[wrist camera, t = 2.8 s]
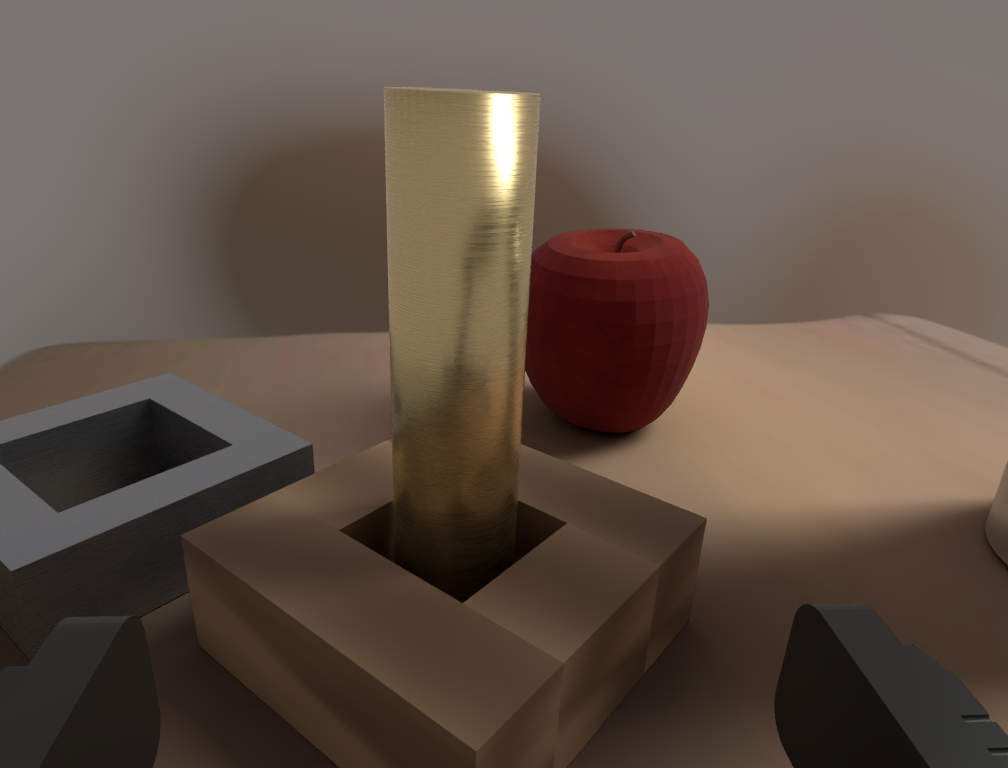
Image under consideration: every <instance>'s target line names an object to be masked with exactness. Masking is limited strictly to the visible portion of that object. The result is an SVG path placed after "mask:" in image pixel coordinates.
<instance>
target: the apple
mask: <svg viewBox="0 0 1008 768" xmlns="http://www.w3.org/2000/svg"><path fill="white" fill-rule="evenodd" d="M708 308H709V300H708V290H707V282H706V278H705V275H704V272H703V270H702V268H701V265H700V263H699V260H698V259H697V258H696V256H695V255H694V254H693V253H692V252H691V251H690V250H689V249H688V248H687V246H686V245H685V244H684V243H683V242H682V241H680V240H679V239H677V238H675V237H672V236H670V235H666V234H662V233H657V232H652V231H645V230H634V229H589V230H579V231H573V232H567V233H563V234H559V235H557V236H554V237H552V238H551V239H549V240H548V241H547V242H545V243H544V244H543V245H541V246H540V247H539V248H537V249H536V250H535V251H534V252H533V253H532V255H531V271H530V288H529V306H528V324H527V342H526V360H525V371H526V373H527V375H528V377H529V380H530V382H531V384H532V386H533V387H534V389H535V390H536V392H537V393H538V395H539V396H540V398H541V399H542V400H543V402H544V403H545V404H546V405H547V406H548V407H549V408H550V409H551V410H552V411H553V412H554V413H555V414H557V415H558V416H559V417H561V418H562V419H564V420H566V421H568V422H570V423H572V424H575V425H577V426H580V427H583V428H587V429H591V430H596V431H602V432H613V433H618V432H631V431H635V430H638V429H641V428H643V427H644V426H646V425H648V424H649V423H651V422H653V421H654V420H656V419H657V418H658V417H659V416H660V415H661V414H662V413H663V412H664V411H665V410H666V409H667V408H668V407H669V406H670V405H671V404H672V402H673V401H674V399H675V398H676V396H677V394H678V393H679V391H680V390H681V388H682V387H683V385H684V383H685V381H686V379H687V377H688V375H689V373H690V371H691V369H692V367H693V365H694V362H695V360H696V357H697V355H698V352H699V350H700V347H701V344H702V340H703V337H704V333H705V330H706V325H707V317H708Z"/></svg>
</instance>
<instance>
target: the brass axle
mask: <svg viewBox="0 0 1008 768" xmlns="http://www.w3.org/2000/svg"><path fill="white" fill-rule="evenodd" d="M384 109H385V110H384V112H385V155H386V156H385V157H386V201H387V242H388V243H387V245H388V289H389V329H390V330H389V334H390V378H391V422H392V467H393V511H394V555H395V564H397V565H398V566H400V567H402V568H403V569H405V570H407V571H408V572H410V573H412V574H413V575H415V576H417V577H419V578H420V579H422V580H424V581H425V582H427V583H429V584H430V585H432V586H434V587H436V588H437V589H439V590H441V591H442V592H444V593H446V594H447V595H449V596H451V597H452V598H454V599H456V600H458V601H459V602H461V603H464V602H465V601H466V600H468V599H469V598H470V597H472V596H473V595H474V594H476V593H477V592H478V591H479V590H481V589H482V588H483V587H485V586H486V585H487V584H489V583H490V582H491V581H493V580H494V579H495V578H496V577H498V576H499V575H500V574H502V573H503V572H504V571H506V570H507V569H508V568H510V567H511V566H512V565H513V564H514V555H515V537H516V519H517V502H518V484H519V466H520V448H521V431H522V413H523V395H524V377H525V360H526V342H527V324H528V306H529V288H530V271H531V253H532V235H533V217H534V199H535V182H536V164H537V145H538V128H539V110H540V94H536V93H523V92H509V91H490V90H469V89H446V88H414V87H413V88H412V87H385V88H384Z"/></svg>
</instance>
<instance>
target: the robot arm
mask: <svg viewBox="0 0 1008 768" xmlns="http://www.w3.org/2000/svg"><path fill="white" fill-rule="evenodd" d="M985 531H986V536H987V540H988V541H989V543H990V545H991V546H992V548H993V550H994V551H995V553H996V554H997V555H998V556H999V557H1000V558H1001V559H1002V560H1003V561H1004V562H1005V563H1006V564H1007V565H1008V461H1007V464H1006V467H1005V470H1004V473H1003V475H1002V478H1001V481H1000V484H999V487H998V490H997V493H996V495H995V498H994V501H993V504H992V507H991V510H990V513H989V516H988V518H987V521H986V524H985ZM774 709H775V719H776V725H777V730H778V733H779V737H780V740H781V743H782V745H783V747H784V750H785V752H786V754H787V756H788V758H789V760H790V761H791V763H792V765H793V767H794V768H1008V736H1007V734H1006V733H1005V732H1004V731H1003V730H1002V729H1001V727H1000V726H999V725H998V724H997V723H996V722H991V721H990V719H989V713H988V712H987V711H986V710H985V709H984V708H983V706H982V705H981V704H980V703H979V702H978V701H977V699H976V698H975V697H974V696H973V695H972V694H971V692H970V691H969V690H968V689H967V688H966V687H965V686H964V684H963V683H962V682H961V681H960V680H959V679H958V677H957V676H955V675H954V674H953V673H951V672H950V671H949V670H947V669H946V668H944V667H943V666H942V665H940V664H939V663H938V662H936V661H935V660H933V659H932V658H931V657H929V656H928V655H927V654H925V653H924V652H922V651H921V650H920V649H918V648H917V647H916V646H914V645H902V643H901V642H900V641H899V640H898V638H897V637H896V636H895V635H894V634H893V632H892V631H891V630H890V629H889V627H888V626H887V625H886V624H885V622H884V621H883V620H882V619H881V618H880V616H879V615H878V614H877V613H876V612H875V611H874V610H873V609H872V608H871V607H870V606H868V605H866V604H864V603H832V604H804V605H802V606H801V607H800V608H799V609H798V610H797V612H796V614H795V617H794V621H793V625H792V629H791V633H790V637H789V641H788V645H787V649H786V653H785V657H784V661H783V665H782V669H781V673H780V677H779V681H778V685H777V689H776V693H775V702H774ZM159 737H160V710H159V704H158V699H157V694H156V689H155V683H154V678H153V673H152V668H151V662H150V657H149V652H148V647H147V641H146V636H145V631H144V627H143V624H142V622H141V620H140V619H139V618H138V617H137V616H98V617H68V618H65V619H63V620H61V621H60V622H59V623H58V624H57V625H56V626H55V628H54V629H53V630H52V632H51V633H50V635H49V636H48V637H47V639H46V640H45V642H44V643H43V645H42V646H41V647H40V649H39V650H38V652H37V653H36V655H35V656H34V657H33V659H32V660H31V662H30V663H29V665H28V666H7V667H5V668H4V669H3V670H2V671H0V768H153V765H154V761H155V758H156V754H157V749H158V744H159Z"/></svg>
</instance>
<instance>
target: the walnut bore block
mask: <svg viewBox="0 0 1008 768" xmlns="http://www.w3.org/2000/svg"><path fill="white" fill-rule="evenodd" d="M706 520H707V518H704V517H702V516H699V515H697V514H694V513H692V512H689V511H687V510H684V509H682V508H679V507H677V506H674V505H672V504H669V503H667V502H664V501H662V500H659V499H657V498H654V497H652V496H649V495H647V494H644V493H642V492H639V491H637V490H634V489H632V488H629V487H627V486H624V485H622V484H619V483H617V482H614V481H612V480H609V479H607V478H604V477H602V476H600V475H597V474H595V473H592V472H590V471H587V470H585V469H582V468H580V467H577V466H575V465H572V464H570V463H567V462H565V461H562V460H560V459H557V458H555V457H552V456H550V455H547V454H545V453H542V452H540V451H537V450H535V449H532V448H530V447H527V446H525V445H522V444H521V448H520V466H519V484H518V502H517V519H516V537H515V555H514V564H513V565H512V566H511V567H510V568H508V569H507V570H506V571H504V572H503V573H502V574H500V575H499V576H498V577H496V578H495V579H494V580H493V581H491V582H490V583H489V584H487V585H486V586H485V587H483V588H482V589H481V590H479V591H478V592H477V593H476V594H474V595H473V596H472V597H470V598H469V599H468V600H466V601H465V602H464V603H461V602H459V601H458V600H456V599H454V598H452V597H451V596H449V595H447V594H446V593H444V592H442V591H441V590H439V589H437V588H436V587H434V586H432V585H430V584H429V583H427V582H425V581H424V580H422V579H420V578H419V577H417V576H415V575H413V574H412V573H410V572H408V571H407V570H405V569H403V568H402V567H400V566H398V565H397V564H395V555H394V511H393V467H392V438H390V439H388V440H386V441H384V442H382V443H379V444H377V445H375V446H373V447H371V448H369V449H366V450H364V451H362V452H360V453H358V454H356V455H353V456H351V457H349V458H347V459H345V460H343V461H340V462H338V463H336V464H334V465H332V466H330V467H327V468H325V469H323V470H321V471H319V472H317V473H314V474H312V475H310V476H308V477H306V478H304V479H301V480H299V481H297V482H295V483H293V484H291V485H288V486H286V487H284V488H282V489H280V490H278V491H275V492H273V493H271V494H269V495H267V496H265V497H262V498H260V499H258V500H256V501H254V502H252V503H249V504H247V505H245V506H243V507H241V508H239V509H236V510H234V511H232V512H230V513H228V514H226V515H224V516H221V517H219V518H217V519H215V520H213V521H211V522H208V523H206V524H204V525H202V526H200V527H198V528H195V529H193V530H191V531H189V532H187V533H185V534H182V535H181V541H182V547H183V553H184V559H185V566H186V572H187V578H188V584H189V590H190V597H191V603H192V609H193V615H194V622H195V628H196V634H197V640H198V645H199V646H200V647H201V648H202V649H203V650H205V651H206V652H207V653H208V654H209V655H210V656H212V657H213V658H214V659H215V660H216V661H217V662H218V663H220V664H221V665H222V666H223V667H224V668H225V669H226V670H228V671H229V672H230V673H231V674H232V675H233V676H235V677H236V678H237V679H238V680H239V681H240V682H241V683H243V684H244V685H245V686H246V687H247V688H248V689H250V690H251V691H252V692H253V693H254V694H255V695H256V696H258V697H259V698H260V699H261V700H262V701H263V702H265V703H266V704H267V705H268V706H269V707H270V708H271V709H273V710H274V711H275V712H276V713H277V714H278V715H279V716H281V717H282V718H283V719H284V720H285V721H286V722H288V723H289V724H290V725H291V726H292V727H293V728H294V729H296V730H297V731H298V732H299V733H300V734H301V735H303V736H304V737H305V738H306V739H307V740H308V741H309V742H311V743H312V744H313V745H314V746H315V747H316V748H317V749H319V750H320V751H321V752H322V753H323V754H324V755H326V756H327V757H328V758H329V759H330V760H331V761H332V762H334V763H335V764H336V765H337V766H338V767H339V768H567V767H568V765H569V764H570V763H571V762H572V761H573V759H574V758H575V757H576V756H577V755H578V753H579V752H580V751H581V750H582V749H583V747H584V746H585V745H586V744H587V743H588V741H589V740H590V739H591V738H592V737H593V735H594V734H595V733H596V732H597V730H598V729H599V728H600V727H601V726H602V724H603V723H604V722H605V721H606V720H607V718H608V717H609V716H610V715H611V714H612V712H613V711H614V710H615V709H616V708H617V706H618V705H619V704H620V703H621V702H622V700H623V699H624V698H625V697H626V696H627V694H628V693H629V692H630V691H631V689H632V688H633V687H634V686H635V685H636V683H637V682H638V681H639V680H640V679H641V677H642V676H643V675H644V674H645V673H646V671H647V670H648V669H649V668H650V667H651V665H652V664H653V663H654V662H655V661H656V659H657V658H658V657H659V656H660V654H661V653H662V652H663V651H664V650H665V648H666V647H667V646H668V645H669V644H670V642H671V641H672V640H673V639H674V638H675V636H676V635H677V634H678V633H679V632H680V630H681V629H682V628H683V627H684V626H685V624H686V623H687V622H688V621H689V615H690V610H691V604H692V598H693V593H694V587H695V582H696V576H697V570H698V565H699V559H700V554H701V548H702V542H703V537H704V531H705V526H706Z"/></svg>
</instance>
